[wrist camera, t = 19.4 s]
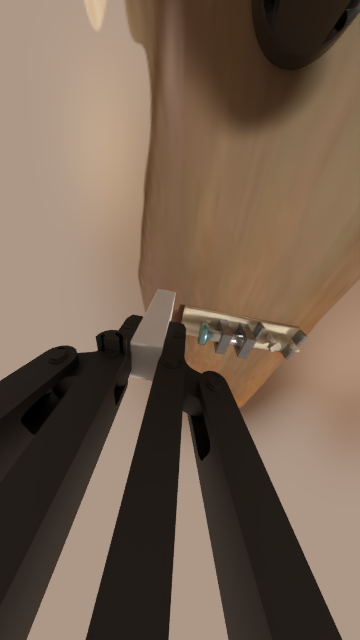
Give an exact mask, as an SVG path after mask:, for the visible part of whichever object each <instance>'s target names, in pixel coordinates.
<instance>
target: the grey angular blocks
mask: <svg viewBox="0 0 360 640" xmlns="http://www.w3.org/2000/svg"><path fill="white" fill-rule="evenodd" d="M264 329H265V327H264V326H263V324H262V323H261V322H258V324H257V325H256V327H255V329H254V331H253V332H252V331H251V329H250V327H249V325H248V324H245V323H240V324H239V326H238V328H237V330H236V332H235V334H236V335H241V336H243V338H244V341H243V343H242V345H241V346H236V345H234V348H235V351H236V354H237V357H239V358H245V359H246V357H247V356H248V354H249V353H250V352H251V350H252V348H253V346H254V345H255V343H256V342H257V340H258V339H259V337H260V335H261V334H262V332H263V331H264ZM215 331H220V332H221V338H220V340H219V342H214V347H215V353H218V354H223V355H224V354H225V352H226V350H227V347H228V345H229V343H230V341H231V339H232V337H233V335H232V332H231V329H230V326H229V323H228V320H224V319H219V321H218V324H217V326H216V329H215ZM306 338H307V335H306V334H305V333H304V332H303V331H302V330H298V331H297V333H296V334H295V335H294V336H293V338H292V339H291V340H292V341H293V343H294V344H295V345H296V346H297V347H299V346H300V344H301V343H302V342H303V341H304V340H305V339H306ZM294 352H295V351H293V350H292V349H291V348H290V347H289V344H287V345H286V347H285V348H284V349H283V350H282V352H281V353H282V355H283V356H284V358H285V359H289V357H290V356H291V355H292V354H293V353H294Z"/></svg>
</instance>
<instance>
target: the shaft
mask: <svg viewBox="0 0 360 640" xmlns="http://www.w3.org/2000/svg"><path fill="white" fill-rule="evenodd" d="M232 335H233V337H232V339H231V341H230V343H229V344H230V345H236V346H241V345H242V343H243V341H244V338H243V336H241V335H236V334H232ZM220 338H221V332H220V331H215V330H210V329H209V325H208V324H207V323H201V325H200V328H199V333H198V344H200V345H205V344H206V341H207V340H209V341H214V342H219V340H220ZM253 347H254V346H253Z"/></svg>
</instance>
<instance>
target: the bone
mask: <svg viewBox="0 0 360 640" xmlns="http://www.w3.org/2000/svg"><path fill="white" fill-rule="evenodd" d="M266 340H268V341H270V343H269V344H268V346H267V347H268V348H269V351H271V352H273V351H279V350H280V349H281V344H280V342H279V340H281V341H285V342H287V343H288V344H289V347H290V348H291V349H292V350H293V351H295V352H299V351H300V350H299V348H298V347H297V346H296V345H295V344H294V343H293V341H292V340H291V338H290V337H288V336H287V335H285V334H283V335H278V336H272V335H271V334H270V332H269V331H268V334H267V336H266Z"/></svg>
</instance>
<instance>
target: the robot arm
mask: <svg viewBox="0 0 360 640" xmlns="http://www.w3.org/2000/svg"><path fill="white" fill-rule="evenodd" d="M252 10H253V20H254V26H255V31H256V35H257V38H258V41H259V44H260V46H261V48H262V50H263V52H264V54H265V55H266V56H267V58H268V59H269V60H270V61H271V62H272V63H273V64H275V65H276V66H278V67H281V68H284V69H297V68H301V67H304V66H306V65H308V64H310V63H312V62H313V61H315V60H317V59H318V58H319V57H321V56H322V55H323V54H324V53H325V52H326V51H328V50H329V49H330V48H331V47H332V46H333V45H334V43H335V42H336V41H337V40H338V39H339V38H340V36H341V35H342V34H343V33H344V31H345V30H346V29H347V28H348V26H349V25H350V24H351V23H352V21H353V20H354V19H355V18H356V16H357V15H358V14H359V12H360V0H252ZM175 295H176V292H172V291H167V290H162V289H158V290H157V292H156V294H155V296H154V298H153V300H152V302H151V303H150V305H149V307H148V309H147V311H146V313H145V315H144V317H142V316H137V315H131V316H130V317H128V318H127V319H126V320H125V322H124V324H123V325H122V326H121V328H120V329H119V330H108V331H104V332H102V333H100V334H98V335H97V336H96V341H97V346H98V351H96V352H87V353H77V351H76V349H75V348H73V347H71V346H58V347H55V348H52V349H50V350H48V351H46V352H44V353H43V354H41V355H40V356H38V357H37V358H36V359H34V360H32V361H31V362H29V363H27V364H26V365H24V366H23V367H21V368H19V369H18V370H17V371H15V372H13V373H12V374H10V375H9V376H7V377H6V378H4V379H2V380H1V381H0V640H26V639H27V637H28V634H29V632H30V629H31V627H32V624H33V622H34V619H35V617H36V614H37V612H38V609H39V607H40V604H41V601H42V599H43V596H44V594H45V591H46V589H47V587H48V584H49V581H50V579H51V576H52V574H53V571H54V569H55V566H56V564H57V561H58V559H59V556H60V554H61V551H62V549H63V546H64V544H65V541H66V539H67V536H68V534H69V531H70V529H71V526H72V524H73V521H74V519H75V516H76V514H77V511H78V509H79V506H80V504H81V501H82V499H83V496H84V494H85V491H86V488H87V486H88V484H89V481H90V479H91V476H92V474H93V471H94V469H95V466H96V464H97V461H98V459H99V456H100V454H101V451H102V449H103V446H104V443H105V441H106V438H107V436H108V433H109V431H110V428H111V426H112V423H113V421H114V418H115V416H116V413H117V411H118V408H119V406H120V403H121V401H122V398H123V396H124V393H125V391H126V388H127V385H128V377H129V375H130V373H131V377H134V378H140V379H146V380H151V381H153V382H152V386H151V390H150V394H149V398H148V401H147V405H146V409H145V413H144V417H143V421H142V425H141V429H140V433H139V436H138V440H137V444H136V448H135V452H134V456H133V459H132V463H131V467H130V471H129V475H128V479H127V483H126V486H125V490H124V494H123V498H122V502H121V506H120V510H119V514H118V517H117V521H116V525H115V529H114V533H113V537H112V541H111V544H110V548H109V552H108V556H107V560H106V564H105V568H104V572H103V575H102V579H101V583H100V587H99V591H98V594H97V598H96V603H95V606H94V610H93V614H92V618H91V621H90V626H89V629H88V633H87V637H86V640H168V637H169V620H170V605H171V589H172V573H173V557H174V540H175V524H176V508H177V492H178V476H179V459H180V443H181V427H182V411H184V412H186V413H187V414H188V420H189V425H190V431H191V436H192V441H193V446H194V453H195V458H196V464H197V468H198V475H199V480H200V485H201V491H202V496H203V502H204V508H205V512H206V518H207V524H208V529H209V535H210V540H211V546H212V551H213V557H214V562H215V568H216V573H217V579H218V584H219V589H220V595H221V601H222V606H223V612H224V617H225V623H226V628H227V634H228V639H229V640H342V638H341V636H340V634H339V632H338V629H337V627H336V625H335V623H334V620H333V618H332V616H331V614H330V612H329V609H328V607H327V605H326V603H325V600H324V598H323V596H322V594H321V592H320V589H319V587H318V585H317V583H316V580H315V578H314V576H313V574H312V571H311V569H310V567H309V565H308V562H307V560H306V558H305V556H304V553H303V551H302V549H301V547H300V545H299V543H298V540H297V538H296V536H295V534H294V531H293V529H292V527H291V525H290V522H289V520H288V518H287V515H286V513H285V511H284V509H283V507H282V504H281V502H280V500H279V498H278V495H277V493H276V491H275V489H274V487H273V485H272V482H271V480H270V477H269V475H268V473H267V471H266V469H265V466H264V464H263V462H262V460H261V457H260V455H259V454H258V451H257V449H256V446H255V444H254V442H253V440H252V437H251V435H250V433H249V431H248V428H247V426H246V424H245V422H244V420H243V417H242V415H241V413H240V410H239V408H238V406H237V404H236V401H235V399H234V397H233V395H232V393H231V390H230V388H229V386H228V384H227V382H226V380H225V379H224V378H223V377H222V376H221V375H220V374H218V373H216V372H214V371H206V372H204V373H202V374H201V373H199V372H197V371H195V370H193V369H192V368H190V367H189V366H188V365H187V363H186V361H185V358H184V354H185V339H186V327H185V325H184V324H182V323H177V322H172V321H171V318H172V312H173V306H174V301H175Z"/></svg>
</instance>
